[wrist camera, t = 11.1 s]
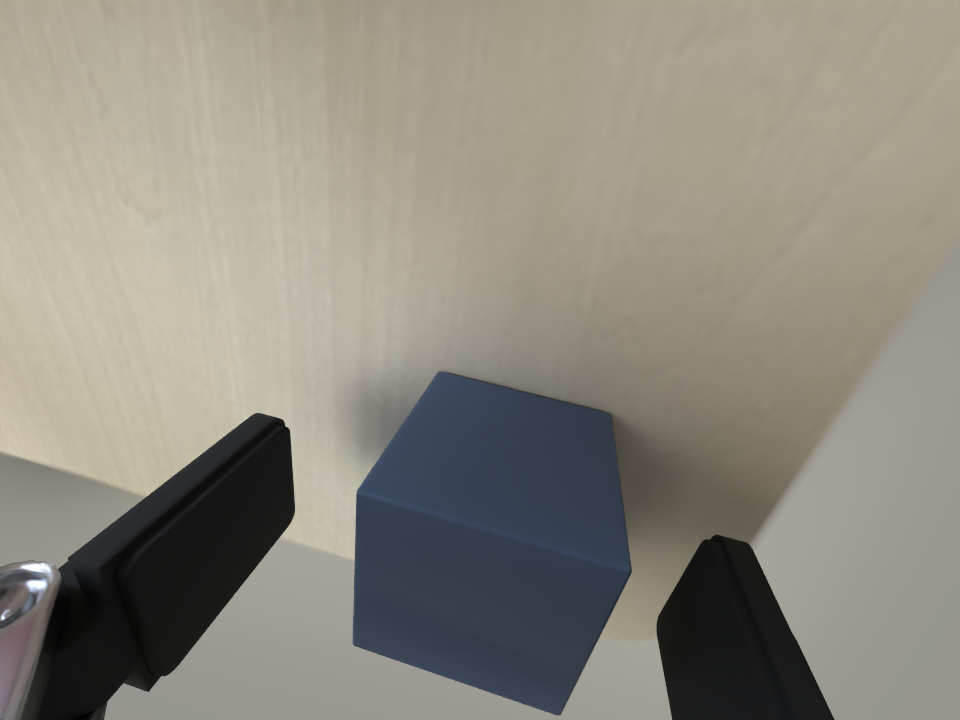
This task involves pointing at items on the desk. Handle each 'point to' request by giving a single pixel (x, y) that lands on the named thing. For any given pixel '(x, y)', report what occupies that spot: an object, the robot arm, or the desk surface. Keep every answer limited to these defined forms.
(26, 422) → the desk surface
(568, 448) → the block
